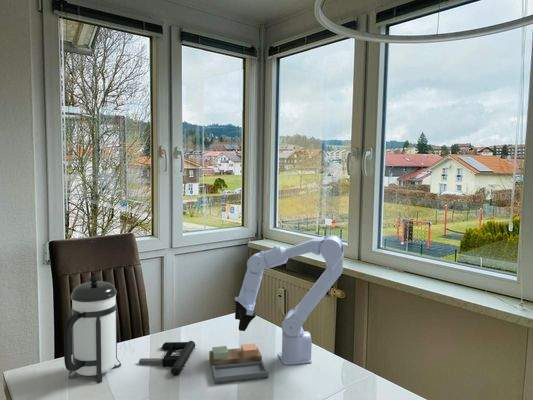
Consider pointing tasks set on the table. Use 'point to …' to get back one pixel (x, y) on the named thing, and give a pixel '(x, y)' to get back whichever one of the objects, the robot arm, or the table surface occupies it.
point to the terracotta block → (249, 350)
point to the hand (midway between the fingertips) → (239, 324)
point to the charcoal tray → (239, 372)
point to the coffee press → (92, 330)
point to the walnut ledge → (234, 358)
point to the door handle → (172, 356)
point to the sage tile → (220, 352)
